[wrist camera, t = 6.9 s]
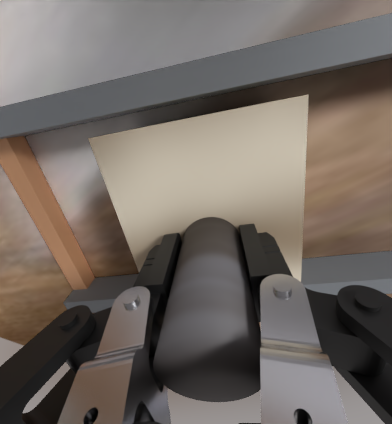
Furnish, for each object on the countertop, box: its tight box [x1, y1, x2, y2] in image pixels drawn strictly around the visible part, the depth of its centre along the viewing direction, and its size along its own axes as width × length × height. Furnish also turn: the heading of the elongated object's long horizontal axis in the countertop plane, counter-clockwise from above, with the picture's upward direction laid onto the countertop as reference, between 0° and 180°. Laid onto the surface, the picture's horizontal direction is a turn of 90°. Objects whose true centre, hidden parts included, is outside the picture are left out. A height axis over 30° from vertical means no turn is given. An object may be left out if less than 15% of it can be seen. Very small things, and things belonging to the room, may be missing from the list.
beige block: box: [88, 95, 309, 402], centre depth 11 cm, size 12×9×12 cm
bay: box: [0, 13, 392, 313], centre depth 14 cm, size 17×38×5 cm, turn 100°
